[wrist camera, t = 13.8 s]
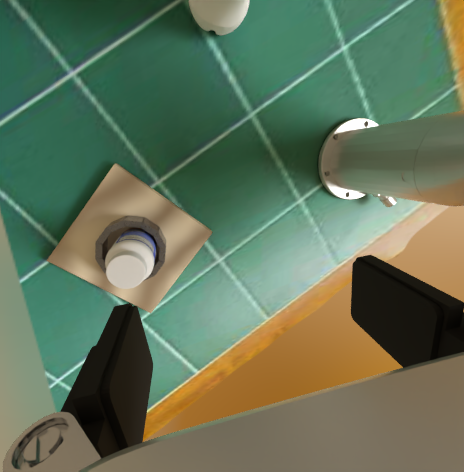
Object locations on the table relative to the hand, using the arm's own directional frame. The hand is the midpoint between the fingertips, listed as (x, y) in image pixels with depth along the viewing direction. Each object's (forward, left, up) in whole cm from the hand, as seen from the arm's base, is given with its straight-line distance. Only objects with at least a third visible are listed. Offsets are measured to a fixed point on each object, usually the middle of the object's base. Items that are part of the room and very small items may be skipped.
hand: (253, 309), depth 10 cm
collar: (+3, +10, -27) cm, 29 cm away
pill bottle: (+3, +9, -28) cm, 29 cm away
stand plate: (+3, +10, -29) cm, 31 cm away
